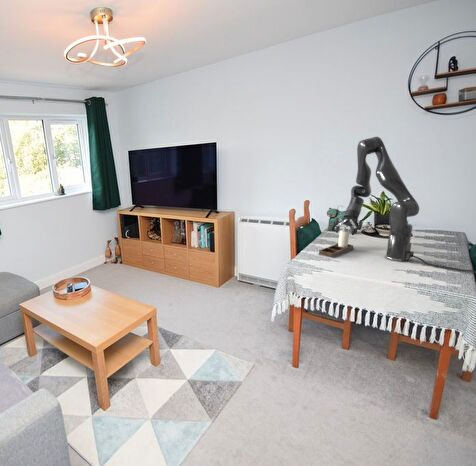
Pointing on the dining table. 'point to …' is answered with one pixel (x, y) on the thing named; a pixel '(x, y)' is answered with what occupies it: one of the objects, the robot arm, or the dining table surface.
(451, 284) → the dining table surface
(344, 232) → the dispenser
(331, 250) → the tray
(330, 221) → the ceramic cat
